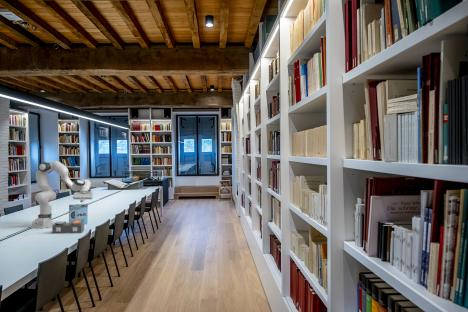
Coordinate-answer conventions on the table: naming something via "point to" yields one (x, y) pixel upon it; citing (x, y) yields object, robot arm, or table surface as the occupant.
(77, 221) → the rocker
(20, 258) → the table surface
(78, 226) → the switch block
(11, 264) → the table surface
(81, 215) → the gum box
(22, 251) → the table surface
